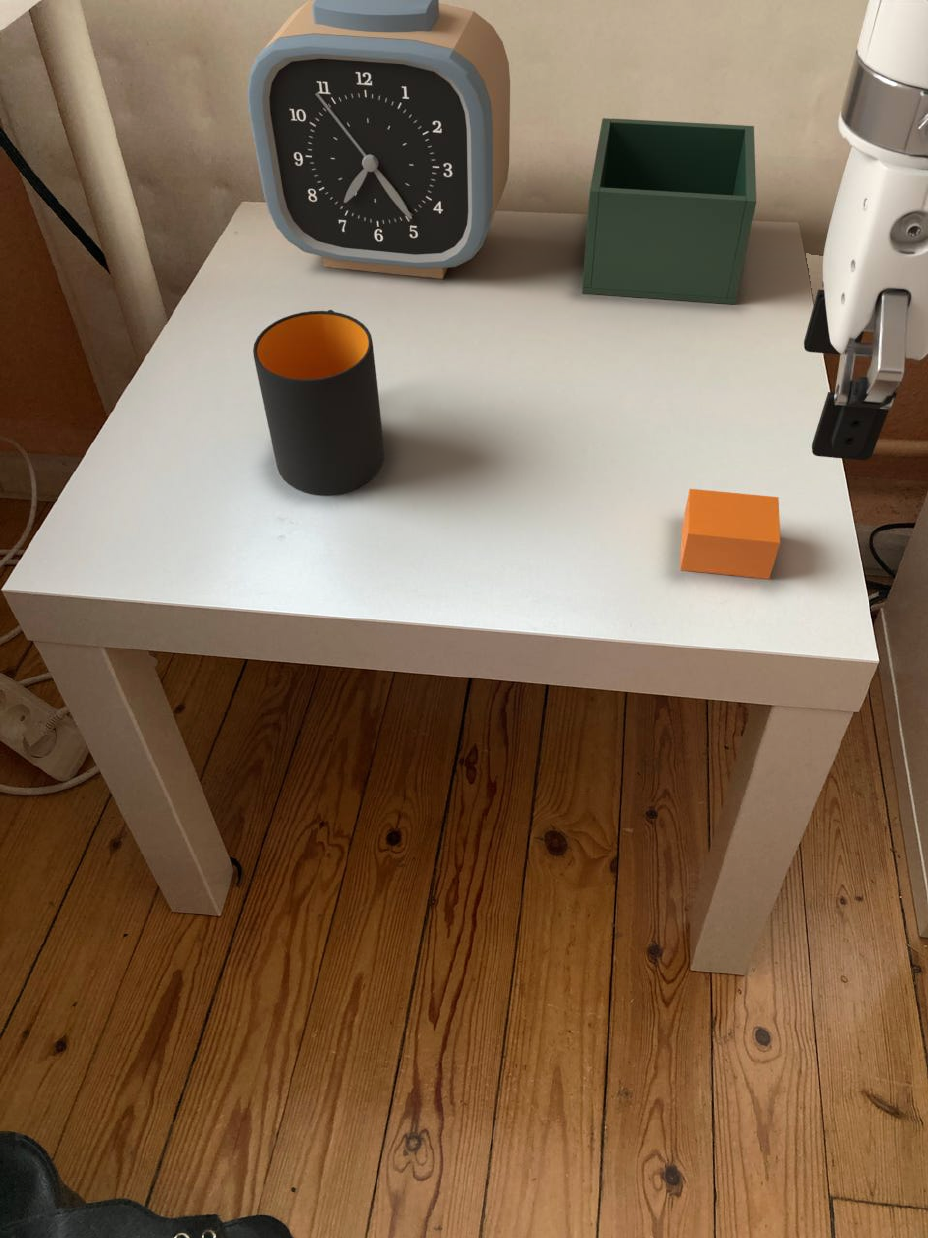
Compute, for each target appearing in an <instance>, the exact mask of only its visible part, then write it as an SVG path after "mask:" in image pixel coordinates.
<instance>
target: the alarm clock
mask: <svg viewBox="0 0 928 1238" xmlns="http://www.w3.org/2000/svg"><path fill="white" fill-rule="evenodd" d="M439 1H440V0H308V1H307V2H305V3H304V4H303V5H301V6H300V7H299V8H298V9H296V10H295V11H294V12H293V13H292V14H291V15H290V16H289V17H288V18H287V20H286V21H285V22H284V23H283V25H282V26H281V27H280V28H279V29H278V31H277V32H275V34H274V35H273V37H272V38H271V39H270V41H269V42H268V43H267V44H266V45H265V47H263V49H261V51H260V53H258V55H257V57H256V58H255V61H254V63H253V65H252V67H251V69H250V71H249V77H248V86H247V91H246V92H247V93H246V94H247V103H248V114H249V119H250V125H251V131H252V137H253V141H254V146H255V147H254V148H255V153H256V158H257V159H256V160H257V164H258V169H259V176H260V180H261V187H262V192H263V197H264V200H265V204H266V207H267V211H268V213H269V215H270V217H271V219H272V221H273V223H274V225H275V227H276V229H277V230H278V231H279V232H280V234H282V236H283V237H284V238H285V239H286V241H288V242H289V243H291V244H292V245H293V246H295V247H296V248H298V249H300V251H302V252H304V253H307V254H311V255H315V256H318V257H322V263H323V267H324V268H333V269H341V270H350V271H351V270H352V271H360V272H361V271H362V272H370V273H371V272H372V273H382V274H392V275H400V276H401V275H403V276H410V277H411V276H412V277H422V278H430V279H431V278H432V279H441V280H443V279H444V277H445V274H446V273H447V270H448V269H449V268H457V267H458V266H460V265H462V264H465V263H466V262H468V261H470V260H472V259H473V258H474V257H475V255H476V254H477V253H478V252H479V251H480V250H481V249H482V247H483V246H484V243H485V240H486V238H487V235H488V233H489V231H490V230H489V229H490V228H491V226H492V222H493V220H494V217H495V214H496V211H497V209H498V206H499V204H500V201H501V198H502V196H503V193H504V191H505V187H506V185H507V182H508V178H509V168H510V139H511V138H510V136H511V135H510V133H511V131H510V130H511V129H510V127H511V74H510V62H509V59H508V55H507V52H506V49H505V48H506V47H505V46H504V42H503V39H501V38H500V35H499V34H498V33H497V31H496V29H495V27H493V24H491V23H489V22H488V21H487V20H486V19H485V18H483V17H482V16H481V15H480V14H478V13H477V12H476V11H474V10H472V9H471V10H470V9H467V8H462V7H458V6H454V5H450V4H445V3H442V2H439Z"/></svg>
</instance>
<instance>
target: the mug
mask: <svg viewBox="0 0 928 1238" xmlns="http://www.w3.org/2000/svg"><path fill="white" fill-rule="evenodd" d="M252 354H253V359H254V365H255V369H256V374H257V379H258V384H259V389H260V393H261V394H260V395H261V398H262V402H263V408H264V413H265V417H266V423H267V426H268V432H269V436H270V440H271V441H270V442H271V445H272V450H273V454H274V460H275V464H276V469H277V470H278V471H277V472H278V474H279V476H280V477H281V478H282V479H283V481H285V482H286V483H287V484H288V485H289V486H291V487H292V488H294V489H296V490H298V491H301V492H303V493H307V494H310V495H311V494H312V495H320V496H329V495H330V496H332V495H338V494H339V495H340V494H343V493H347V492H352V491H354V490H356V489H358V488H361V487H362V486H364V485H365V484H367V483H369V482H370V481H371V480H373V479H374V477H375V476H376V475H377V474H378V473H379V471H380V469H381V468H382V466H383V464H384V460H385V444H384V436H383V425H382V415H381V407H380V398H379V396H380V395H379V387H378V380H377V369H376V360H375V359H376V358H375V351H374V342H373V337H372V334H371V332H370V330H369V328H368V327H367V326H366V325H365V324H364V323H362V322H361V321H360V320H358V319H357V318H355V317H353V316H351V315H348V314H345V313H342V312H336V311H334V310H332V309H329V310H311V311H309V310H308V311H304V312H303V311H302V312H298V313H294V314H290V315H287V316H284V317H282V318H280V319H277V320H276V321H274V322H272V323H271V324H269V325H268V326H267V327H266V328H265V329H263V330H262V331H261V332H260V333H259V335H258V336H257V337H256V339H255V341H254V344H253V349H252Z"/></svg>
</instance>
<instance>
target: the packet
mask: <svg viewBox="0 0 928 1238" xmlns="http://www.w3.org/2000/svg"><path fill="white" fill-rule="evenodd" d="M680 546H681V547H680V567H679V568H680V571H686V572H695V573H697V572H698V573H706V574H717V575H726V576H733V577H735V576H736V577H743V578H754V579H761V580H762V579H764V580H770V578H771V575H772V571H773V568H774V565H775V563H776V558H777V555H778V553H779V550H780V547H781V523H780V501H779V497H778V496H770V495H759V494H751V493H750V494H748V493H740V492H739V493H738V492H729V491H717V490H710V489H709V490H707V489H699V488H698V489H697V488H689V490H688V495H687V499H686V505H685V510H684V515H683V520H682V526H681V545H680Z"/></svg>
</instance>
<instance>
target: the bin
mask: <svg viewBox="0 0 928 1238" xmlns="http://www.w3.org/2000/svg"><path fill="white" fill-rule="evenodd" d="M755 145H756V144H755V126H754V125H743V124H725V123H724V124H723V123H706V122H688V121H687V122H685V121H668V120H667V121H666V120H650V119H648V120H647V119H631V118H630V119H629V118H609V117H607V118H606V117H605V118H604V117H603V118H602V119H601V124H600V130H599V136H598V142H597V147H596V152H595V153H596V154H595V158H594V164H593V170H592V176H591V181H590V187H589V195H588V208H587V221H586V233H585V246H584V247H585V248H584V261H583V274H582V286H581V287H582V289H581V294H587V295H588V294H589V295H601V296H602V295H603V296H613V297H614V296H615V297H616V296H617V297H630V298H641V299H642V298H643V299H655V300H669V301H685V302H696V303H709V304H711V303H713V304H723V305H724V304H725V305H736V303H737V297H738V292H739V288H740V282H741V278H742V272H743V269H744V264H745V259H746V255H747V248H748V244H749V239H750V234H751V230H752V226H753V220H754V215H755V210H756V206H757V181H756V178H757V177H756V149H755Z"/></svg>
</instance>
